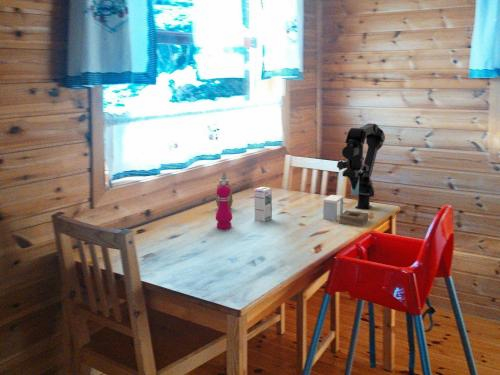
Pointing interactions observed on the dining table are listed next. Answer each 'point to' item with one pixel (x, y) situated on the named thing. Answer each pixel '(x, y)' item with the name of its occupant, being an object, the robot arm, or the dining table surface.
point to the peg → (356, 191)
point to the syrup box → (263, 203)
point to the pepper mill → (223, 207)
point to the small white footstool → (332, 207)
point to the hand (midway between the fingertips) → (355, 188)
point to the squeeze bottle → (226, 185)
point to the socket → (353, 218)
